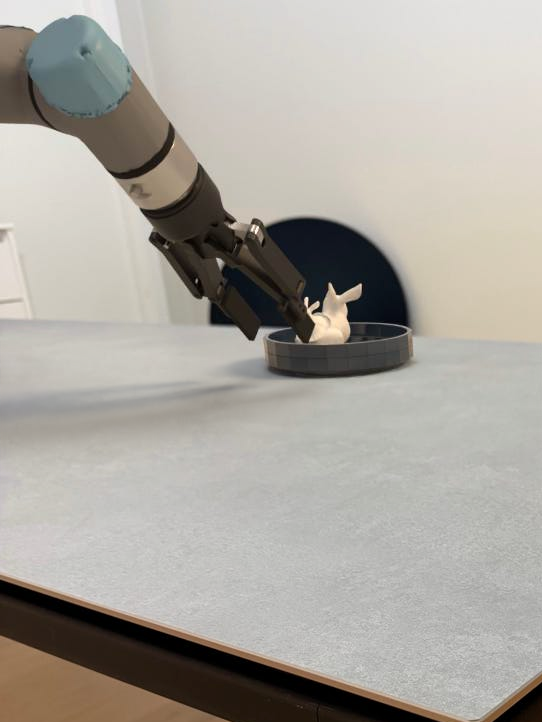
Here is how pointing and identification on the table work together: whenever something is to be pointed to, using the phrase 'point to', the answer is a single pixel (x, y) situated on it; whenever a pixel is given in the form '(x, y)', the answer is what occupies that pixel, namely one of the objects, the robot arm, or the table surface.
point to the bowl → (341, 351)
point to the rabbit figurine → (331, 317)
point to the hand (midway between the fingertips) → (281, 332)
